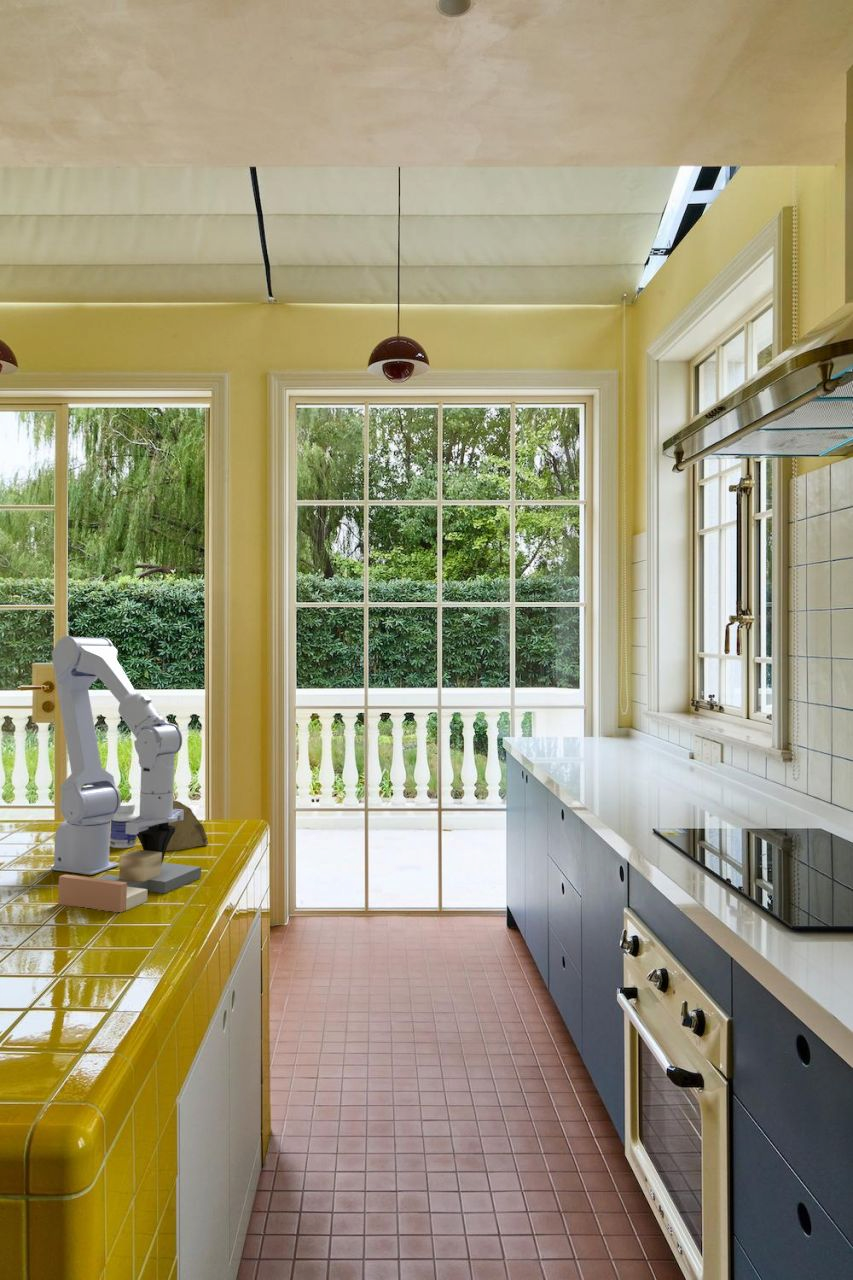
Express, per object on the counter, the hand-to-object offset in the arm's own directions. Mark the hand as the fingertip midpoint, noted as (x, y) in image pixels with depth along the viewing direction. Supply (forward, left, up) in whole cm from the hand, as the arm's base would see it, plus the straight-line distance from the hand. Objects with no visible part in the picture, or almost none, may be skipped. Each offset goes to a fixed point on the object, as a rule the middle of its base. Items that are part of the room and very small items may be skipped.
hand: (154, 867), depth 152 cm
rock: (-11, +25, -3) cm, 27 cm away
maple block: (0, -4, -1) cm, 4 cm away
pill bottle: (-23, +21, -3) cm, 31 cm away
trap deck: (0, -6, -3) cm, 6 cm away
